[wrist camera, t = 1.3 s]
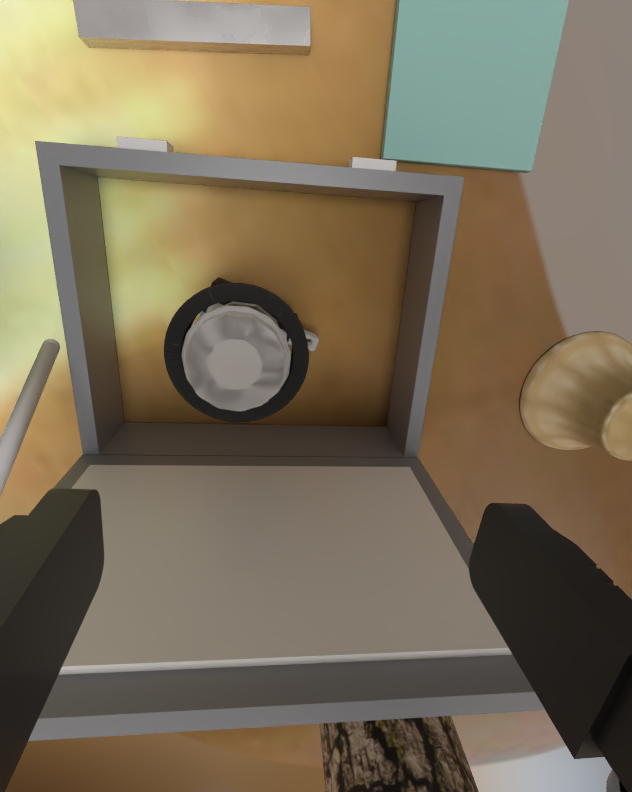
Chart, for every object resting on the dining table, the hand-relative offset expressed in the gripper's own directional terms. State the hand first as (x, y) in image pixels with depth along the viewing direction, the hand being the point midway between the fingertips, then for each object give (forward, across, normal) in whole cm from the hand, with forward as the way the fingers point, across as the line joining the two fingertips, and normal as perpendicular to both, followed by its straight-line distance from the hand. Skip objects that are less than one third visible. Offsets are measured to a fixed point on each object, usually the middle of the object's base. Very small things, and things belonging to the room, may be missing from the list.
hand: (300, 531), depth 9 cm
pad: (+17, -8, -14) cm, 24 cm away
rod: (+18, +5, -14) cm, 23 cm away
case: (+17, +1, -1) cm, 17 cm away
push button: (+18, +1, -1) cm, 18 cm away
